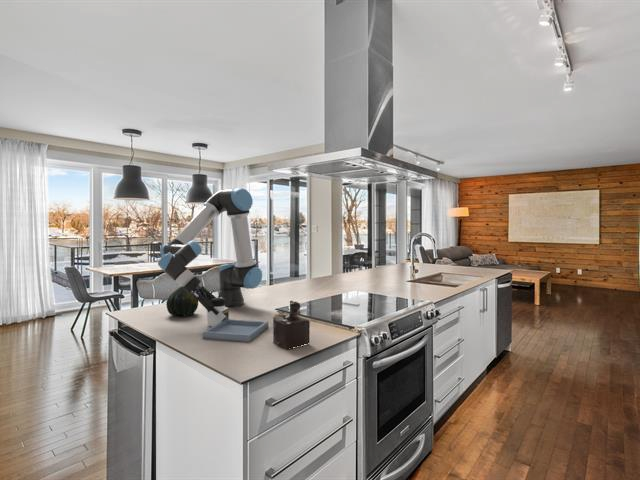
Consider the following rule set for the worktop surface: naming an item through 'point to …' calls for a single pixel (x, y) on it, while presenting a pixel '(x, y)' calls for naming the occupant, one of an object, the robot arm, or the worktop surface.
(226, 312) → the medicine bottle
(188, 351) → the worktop surface
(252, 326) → the tray
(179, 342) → the worktop surface
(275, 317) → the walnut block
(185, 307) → the squash
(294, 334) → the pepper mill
